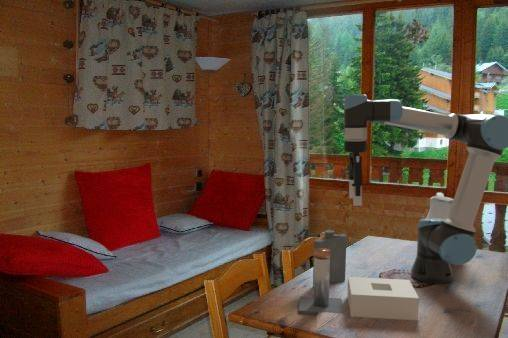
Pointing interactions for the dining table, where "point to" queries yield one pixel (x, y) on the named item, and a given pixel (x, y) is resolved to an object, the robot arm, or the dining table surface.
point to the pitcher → (439, 206)
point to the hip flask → (334, 254)
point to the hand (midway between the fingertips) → (355, 201)
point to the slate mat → (309, 308)
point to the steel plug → (321, 277)
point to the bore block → (382, 298)
